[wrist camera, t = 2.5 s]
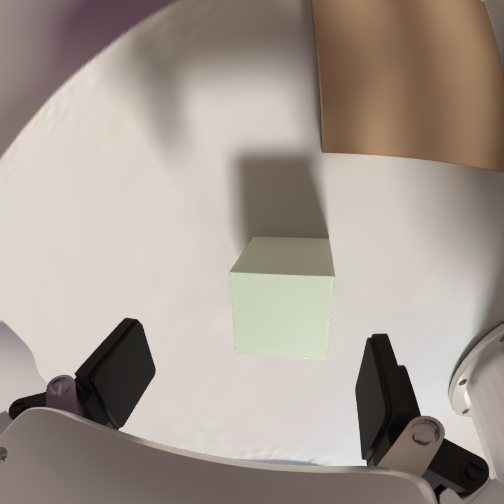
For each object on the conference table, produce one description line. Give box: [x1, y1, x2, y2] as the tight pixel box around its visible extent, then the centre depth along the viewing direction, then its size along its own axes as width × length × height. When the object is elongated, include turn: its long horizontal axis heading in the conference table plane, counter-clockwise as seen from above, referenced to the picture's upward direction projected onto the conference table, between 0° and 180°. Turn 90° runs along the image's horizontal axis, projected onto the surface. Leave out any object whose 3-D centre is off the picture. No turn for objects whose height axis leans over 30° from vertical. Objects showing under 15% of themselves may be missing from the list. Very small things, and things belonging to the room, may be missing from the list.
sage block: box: [229, 236, 335, 360], centre depth 17 cm, size 5×5×6 cm
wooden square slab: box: [311, 0, 504, 173], centre depth 12 cm, size 12×12×3 cm
